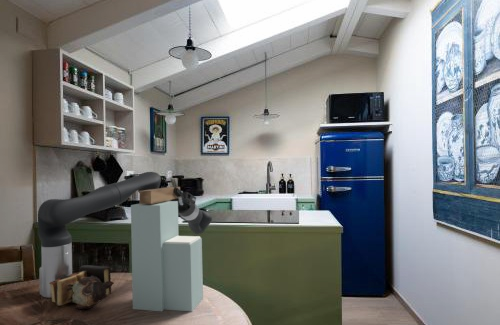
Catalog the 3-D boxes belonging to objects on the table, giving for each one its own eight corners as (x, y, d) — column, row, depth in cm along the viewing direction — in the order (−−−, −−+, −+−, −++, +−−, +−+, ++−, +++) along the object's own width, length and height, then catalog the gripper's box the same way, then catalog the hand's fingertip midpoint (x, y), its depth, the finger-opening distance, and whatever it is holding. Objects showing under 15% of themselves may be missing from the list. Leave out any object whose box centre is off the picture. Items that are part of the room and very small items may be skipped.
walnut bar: (139, 204, 96) (139, 191, 96) (170, 197, 116) (170, 187, 116) (151, 204, 95) (150, 191, 95) (180, 197, 115) (180, 186, 115)
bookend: (85, 264, 115) (132, 265, 103) (86, 294, 114) (134, 299, 102) (42, 275, 102) (91, 278, 90) (44, 310, 101) (93, 317, 89)
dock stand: (132, 308, 96) (130, 205, 97) (153, 293, 108) (151, 201, 109) (189, 313, 92) (187, 205, 93) (204, 297, 104) (202, 201, 104)
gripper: (201, 217, 121) (184, 199, 107) (168, 216, 125) (147, 199, 110) (205, 199, 125) (189, 179, 111) (172, 199, 128) (153, 180, 114)
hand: (168, 189), depth 111 cm, fingers closed on walnut bar, 4 cm apart
